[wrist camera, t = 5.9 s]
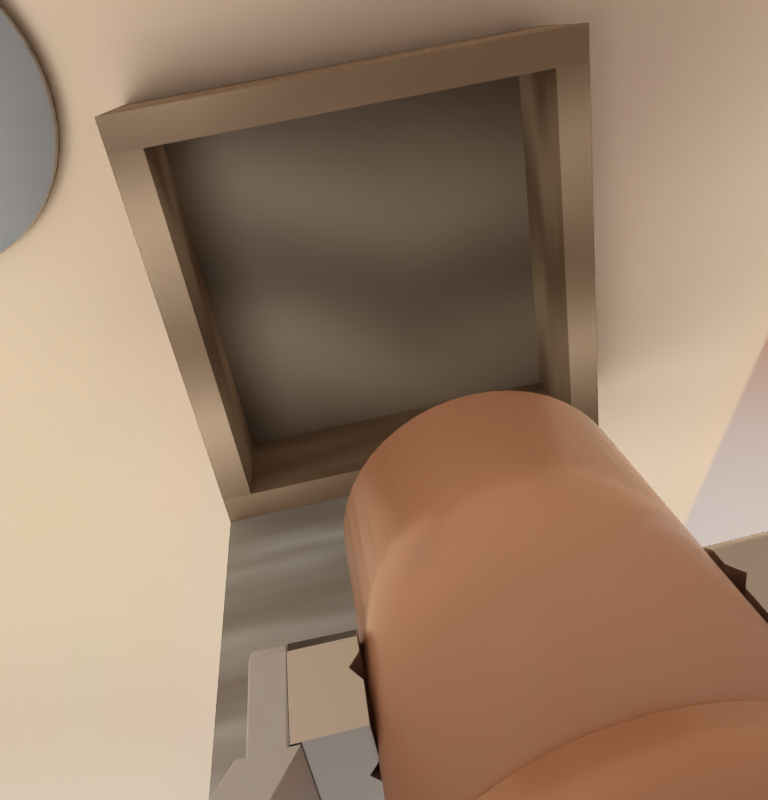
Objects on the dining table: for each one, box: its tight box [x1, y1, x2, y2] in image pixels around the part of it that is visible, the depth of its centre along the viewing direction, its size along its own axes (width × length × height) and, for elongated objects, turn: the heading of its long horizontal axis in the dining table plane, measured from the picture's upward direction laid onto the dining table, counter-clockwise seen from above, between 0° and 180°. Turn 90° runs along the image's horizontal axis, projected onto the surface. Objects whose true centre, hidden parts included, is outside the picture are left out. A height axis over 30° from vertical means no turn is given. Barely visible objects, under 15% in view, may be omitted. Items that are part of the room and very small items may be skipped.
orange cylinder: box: [344, 390, 768, 800], centre depth 9 cm, size 5×5×7 cm
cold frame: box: [95, 23, 598, 800], centre depth 19 cm, size 15×14×18 cm
